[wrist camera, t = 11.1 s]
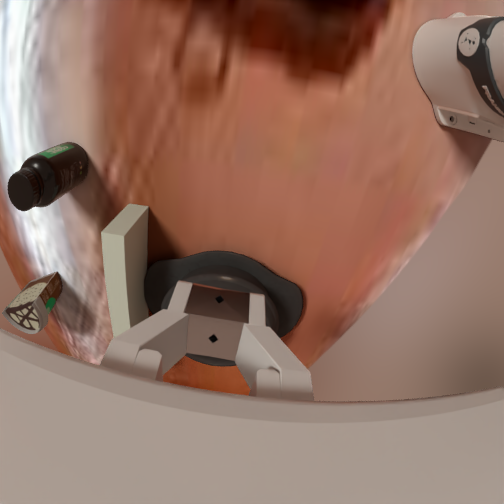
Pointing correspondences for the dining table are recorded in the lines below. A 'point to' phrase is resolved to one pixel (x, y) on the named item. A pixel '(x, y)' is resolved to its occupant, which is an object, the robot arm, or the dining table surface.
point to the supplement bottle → (48, 176)
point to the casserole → (230, 278)
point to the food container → (34, 303)
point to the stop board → (126, 267)
